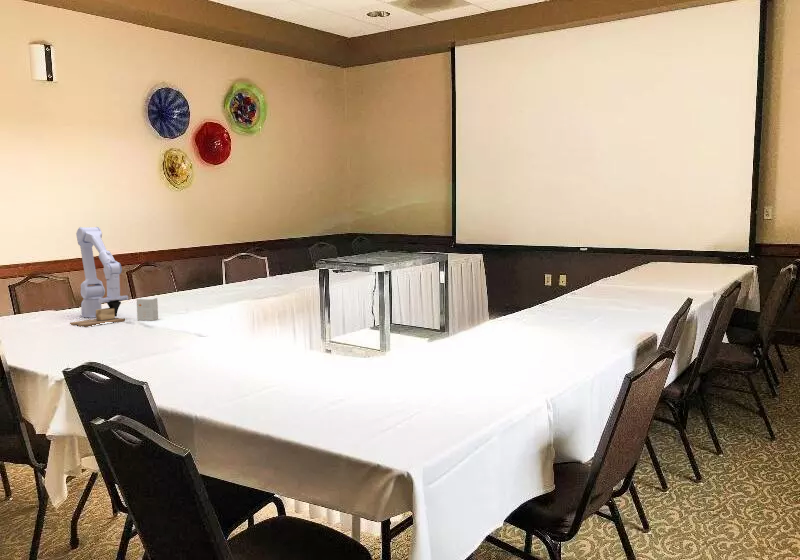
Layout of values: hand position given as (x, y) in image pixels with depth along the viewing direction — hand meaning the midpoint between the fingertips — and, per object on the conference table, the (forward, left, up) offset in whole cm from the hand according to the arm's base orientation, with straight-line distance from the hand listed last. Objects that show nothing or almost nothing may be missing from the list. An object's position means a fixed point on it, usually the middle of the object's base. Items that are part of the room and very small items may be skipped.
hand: (114, 316), depth 312 cm
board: (0, -9, -2) cm, 9 cm away
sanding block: (0, -5, -1) cm, 5 cm away
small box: (+11, +10, -2) cm, 15 cm away
